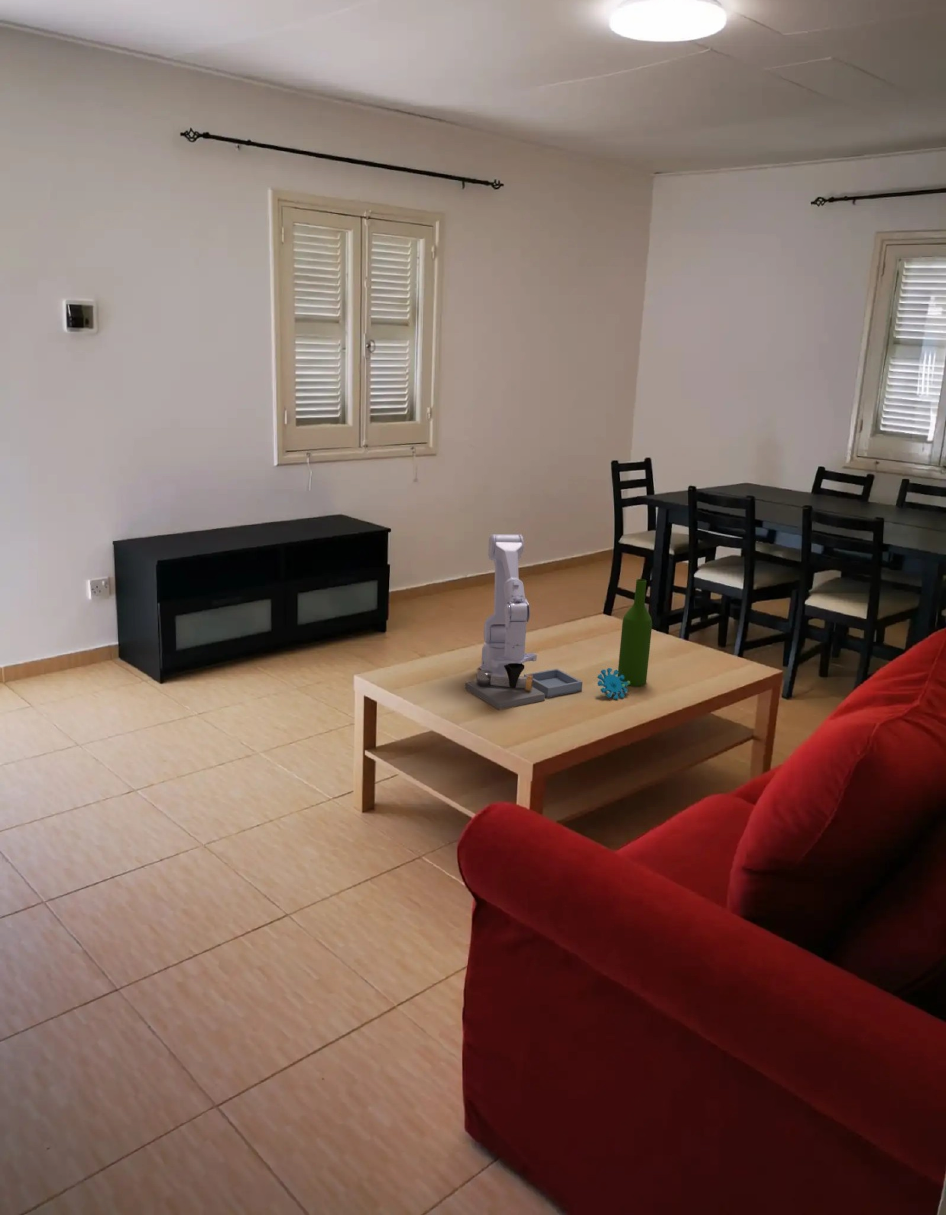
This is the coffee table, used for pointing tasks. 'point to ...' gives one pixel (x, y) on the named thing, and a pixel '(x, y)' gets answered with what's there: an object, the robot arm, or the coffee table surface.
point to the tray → (555, 683)
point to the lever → (502, 680)
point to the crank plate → (505, 695)
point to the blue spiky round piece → (612, 683)
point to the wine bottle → (635, 640)
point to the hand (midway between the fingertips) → (512, 687)
